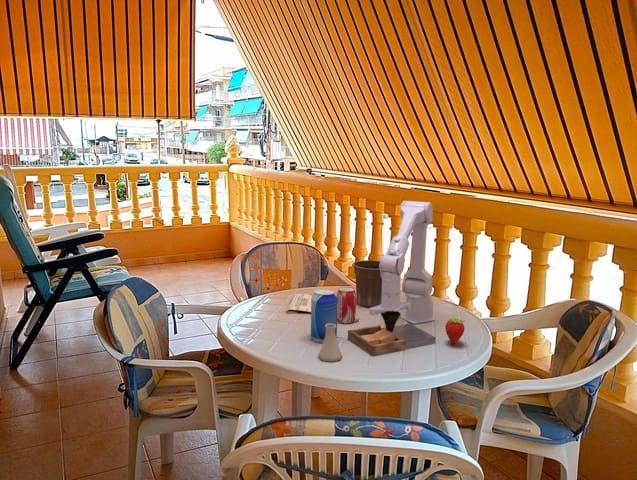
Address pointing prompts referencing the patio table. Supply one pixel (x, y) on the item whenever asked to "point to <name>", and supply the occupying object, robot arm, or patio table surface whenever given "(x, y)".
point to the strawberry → (454, 329)
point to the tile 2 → (384, 336)
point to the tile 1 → (371, 339)
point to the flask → (330, 345)
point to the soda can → (346, 305)
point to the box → (369, 347)
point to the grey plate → (412, 336)
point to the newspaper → (298, 303)
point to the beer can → (323, 313)
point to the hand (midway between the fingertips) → (389, 333)
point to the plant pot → (368, 283)
